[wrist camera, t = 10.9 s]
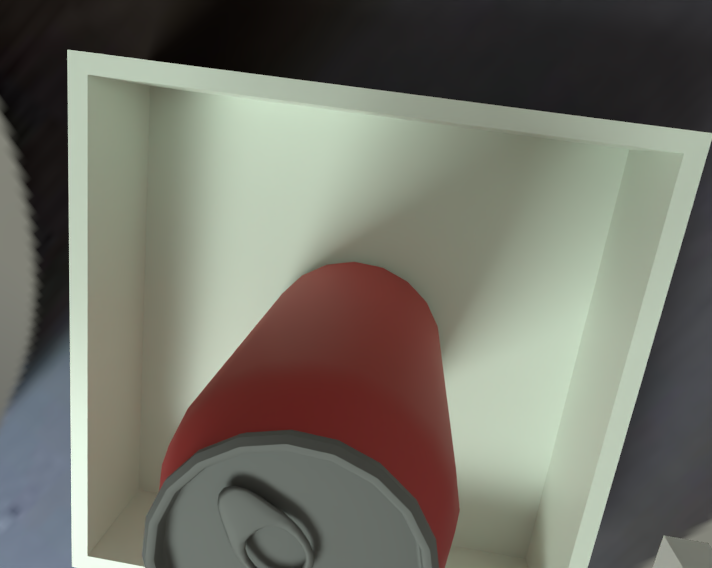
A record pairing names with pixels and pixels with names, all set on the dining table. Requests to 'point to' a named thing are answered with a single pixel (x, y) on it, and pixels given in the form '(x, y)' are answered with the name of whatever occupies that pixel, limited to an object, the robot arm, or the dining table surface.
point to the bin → (373, 247)
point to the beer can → (317, 439)
